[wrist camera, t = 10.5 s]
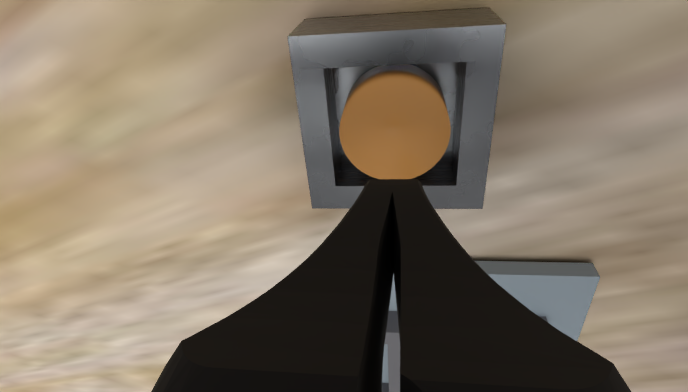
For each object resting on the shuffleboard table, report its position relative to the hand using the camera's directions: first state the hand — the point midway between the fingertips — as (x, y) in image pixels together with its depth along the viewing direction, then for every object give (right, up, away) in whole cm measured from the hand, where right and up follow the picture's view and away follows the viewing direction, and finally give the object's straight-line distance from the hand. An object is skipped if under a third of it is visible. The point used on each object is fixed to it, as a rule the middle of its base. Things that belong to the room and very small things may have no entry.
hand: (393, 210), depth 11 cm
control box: (+1, +4, +7) cm, 8 cm away
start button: (+1, +4, +6) cm, 7 cm away
